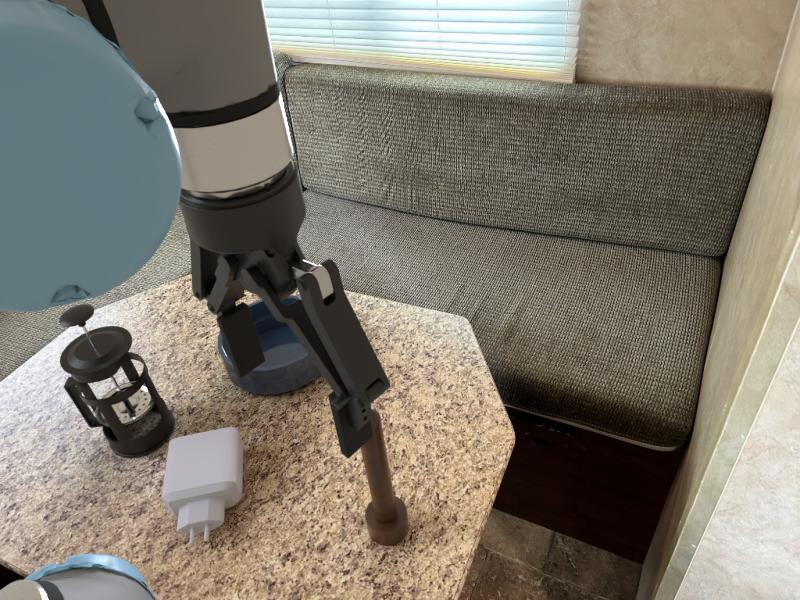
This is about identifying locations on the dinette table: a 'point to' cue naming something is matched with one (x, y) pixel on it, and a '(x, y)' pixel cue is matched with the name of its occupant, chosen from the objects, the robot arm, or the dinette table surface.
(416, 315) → the dinette table surface
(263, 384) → the bowl
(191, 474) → the charger
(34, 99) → the robot arm
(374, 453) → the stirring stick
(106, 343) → the french press
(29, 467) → the dinette table surface
